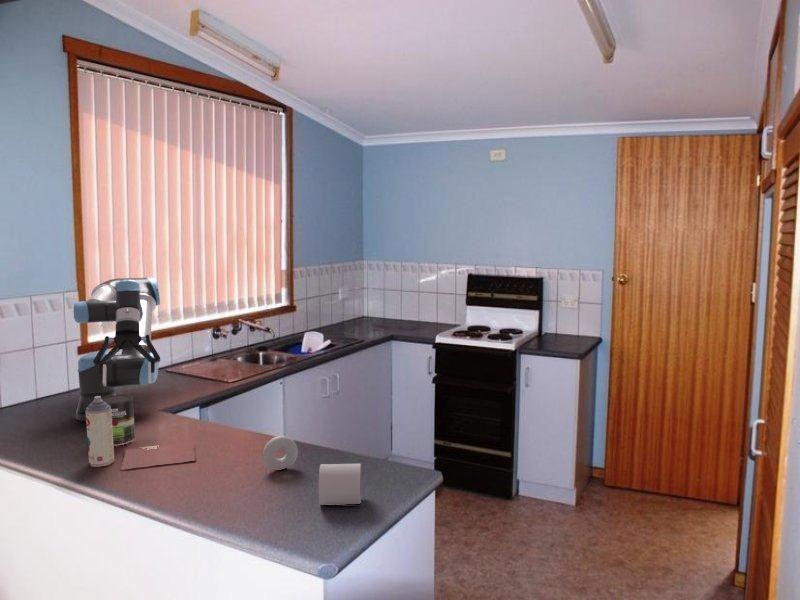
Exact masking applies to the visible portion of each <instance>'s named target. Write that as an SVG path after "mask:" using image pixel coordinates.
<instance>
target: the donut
mask: <svg viewBox="0 0 800 600" xmlns="http://www.w3.org/2000/svg"><path fill="white" fill-rule="evenodd" d="M279 449H284V450H285V454H284V456H283V457H281V458H278V457H276V452H277V451H278V450H279ZM298 452H299V449H298V445H297V444H296V442H295V440H294V439H292V438H291V437H290V436H286V435H279V436H278V435H277V436H275V437H273V438H271V439H270V440H269V441H268V442H267V443H266V444H265V445H264V448H263V451H262V457H263V461H264V464H265V465H266V467H268V468H280V467H287V466H290V467H292V466H293V464H294V463H295V462H296V460H297V458H298ZM291 465H292V466H291Z"/></svg>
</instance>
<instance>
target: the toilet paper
mask: <svg viewBox="0 0 800 600" xmlns="http://www.w3.org/2000/svg"><path fill="white" fill-rule="evenodd" d="M318 503H319V506H320V505H321V504H322V505H324V504H360V503H361V504H362V463H322V464H319V470H318Z"/></svg>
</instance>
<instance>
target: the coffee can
mask: <svg viewBox="0 0 800 600" xmlns="http://www.w3.org/2000/svg"><path fill="white" fill-rule="evenodd" d="M101 400H103V401H104V402H106V403H107V404H108V405H110V407H111V415H112V431H113V445H118V444H122V443H126V442H128V441H131V440H133V439H134V438H135V439H136V434H135V432H136V430H135V414H134V412H135V411H134V396H132V395H128V394H116V395H114V396H108V397H104V398H102V399H101Z"/></svg>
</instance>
